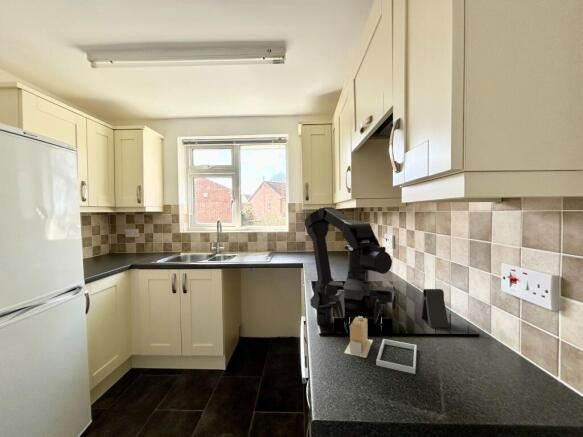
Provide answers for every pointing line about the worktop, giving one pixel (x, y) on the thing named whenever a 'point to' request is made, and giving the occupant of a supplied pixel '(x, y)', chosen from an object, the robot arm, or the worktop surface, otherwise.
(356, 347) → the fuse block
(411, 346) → the parts tray
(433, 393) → the worktop surface
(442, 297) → the phone stand
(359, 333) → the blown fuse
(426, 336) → the worktop surface
